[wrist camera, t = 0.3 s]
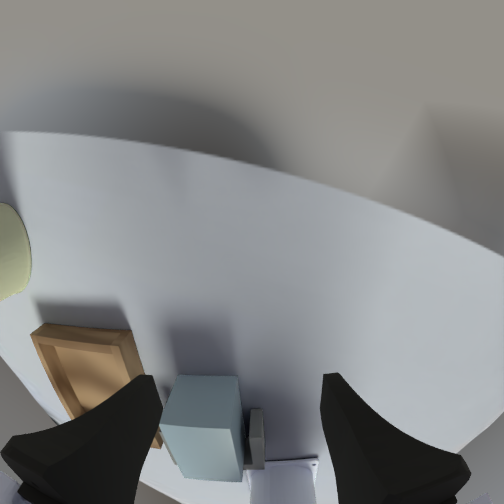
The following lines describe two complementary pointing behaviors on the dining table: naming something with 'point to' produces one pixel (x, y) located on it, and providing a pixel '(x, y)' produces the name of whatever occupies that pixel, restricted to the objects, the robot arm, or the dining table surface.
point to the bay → (248, 443)
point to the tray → (87, 365)
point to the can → (13, 253)
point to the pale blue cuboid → (206, 427)
